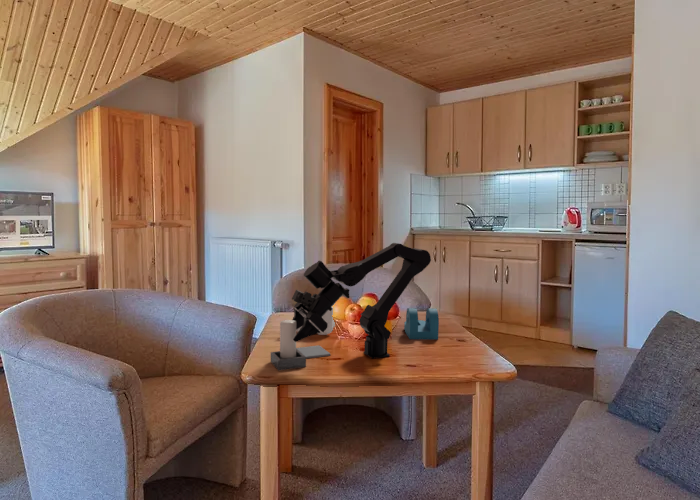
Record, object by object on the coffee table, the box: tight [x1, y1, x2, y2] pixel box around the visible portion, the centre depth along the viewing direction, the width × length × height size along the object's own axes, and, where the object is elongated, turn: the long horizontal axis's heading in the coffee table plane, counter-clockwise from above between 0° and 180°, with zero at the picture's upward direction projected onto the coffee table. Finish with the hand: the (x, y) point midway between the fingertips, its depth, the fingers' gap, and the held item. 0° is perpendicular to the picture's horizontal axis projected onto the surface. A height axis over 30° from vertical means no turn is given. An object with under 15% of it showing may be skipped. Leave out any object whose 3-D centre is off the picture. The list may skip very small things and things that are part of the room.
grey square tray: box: [270, 349, 307, 372], centre depth 140 cm, size 8×8×3 cm
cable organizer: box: [294, 307, 336, 336], centre depth 178 cm, size 15×11×12 cm
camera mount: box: [403, 307, 440, 340], centre depth 178 cm, size 18×10×10 cm, turn 2°
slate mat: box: [296, 344, 331, 360], centre depth 151 cm, size 10×10×1 cm
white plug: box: [279, 319, 297, 359], centre depth 139 cm, size 5×5×13 cm
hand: (290, 336), depth 139 cm, fingers open, 9 cm apart
